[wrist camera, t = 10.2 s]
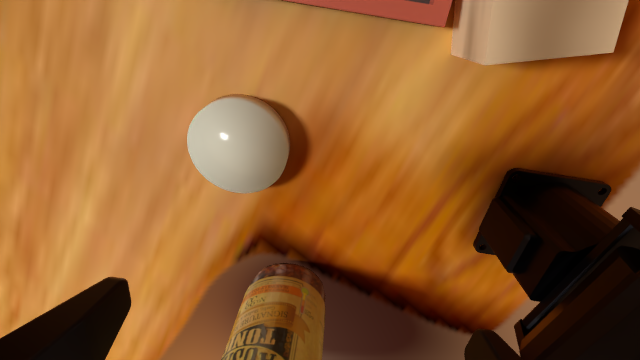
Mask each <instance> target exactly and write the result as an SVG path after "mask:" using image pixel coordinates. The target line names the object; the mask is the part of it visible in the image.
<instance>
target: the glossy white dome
mask: <svg viewBox="0 0 640 360" xmlns="http://www.w3.org/2000/svg"><path fill="white" fill-rule="evenodd" d="M187 145H188V151H189V154H190V157H191V159H192V161H193V163H194V165H195V167H196V168H197V169H198V171H199V172H200V173H201V174H202V175H203V176H204V177H205V178H206V179H207V180H208V181H210V182H211V183H213V184H214V185H216V186H218V187H220V188H222V189H225V190H227V191H231V192H236V193H253V192H258V191H261V190H263V189H266V188H268V187H269V186H271V185H272V184H273V183H274V182H276V181H277V180H278V178H279V177H280V176H281V174H282V173H283V171H284V168H285V166H286V163H287V160H288V156H289V152H290V138H289V133H288V130H287V127H286V125H285V123H284V121H283V120H282V118H281V117H280V115H279V114H278V113H277V112H276V111H275V110H274V109H273V108H272V107H271V106H269V105H268V104H267V103H265V102H263V101H262V100H260V99H257V98H255V97H252V96H248V95H243V94H232V95H226V96H222V97H220V98H217V99H216V100H214V101H212V102H211V103H210V104H208V105H207V106H206V107H204V108H203V109H202V110H201V111H199V112H198V114H197V115H196V116H195V117H194V119H193V120H192V122H191V124H190V126H189V130H188V135H187Z"/></svg>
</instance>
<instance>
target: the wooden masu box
mask: <svg viewBox="0 0 640 360" xmlns="http://www.w3.org/2000/svg"><path fill="white" fill-rule="evenodd" d="M628 1H629V0H455V8H454V21H453V34H452V47H451V55H454V56H457V57H460V58H463V59H467V60H470V61H473V62H476V63H479V64H482V65H493V64H503V63H513V62H523V61H533V60H543V59H553V58H563V57H573V56H583V55H593V54H603V53H613V52H614V49H615V45H616V42H617V38H618V35H619V31H620V28H621V25H622V21H623V18H624V14H625V11H626V8H627V4H628Z"/></svg>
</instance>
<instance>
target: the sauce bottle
mask: <svg viewBox="0 0 640 360" xmlns="http://www.w3.org/2000/svg"><path fill="white" fill-rule="evenodd" d="M324 302H325V294H324V288H323V284H322V282H321V281H320V279H319V277H318V276H317V275H315V274H314V273H313V272H312V271H311V270H310V269H308V268H305V267H304V266H299V265H296V264H288V263H280V264H273V265H270V266H267V267H266V268H264V269H263V270H261V271H260V272H259V273H258V274H257V275H256V276H255V278H254V279H253V281H252V282H251V284H250V286H249V288H248V289H247V291H246V293H245V296H244V299H243V301H242V304H241V307H240V310H239V312H238V315H237V318H236V321H235V323H234V327H233V329H232V332H231V335H230V338H229V341H228V343H227V346H226V349H225V352H224V354H223V357H222V360H322V350H323V334H324V323H325V303H324Z"/></svg>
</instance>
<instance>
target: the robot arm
mask: <svg viewBox="0 0 640 360" xmlns="http://www.w3.org/2000/svg"><path fill="white" fill-rule="evenodd" d="M515 175H518V176H517V177H516V178H515V179H513V177H514V176H515ZM600 189H601V190H600ZM599 190H600V191H599ZM610 192H611V187H610V186H609V185H608V184H606V183H604V182H601V181H595V180H589V179H582V178H576V177H569V176H563V175H557V174H550V173H544V172H538V171H531V170H525V169H518V168H513V169H511V170H509V171H508V172H507V173H506V175H505V177H504V179H503V181H502V183H501V186H500V188H499V190H498V192H497V194H496V196H495V198H494V199H493V200H492V202H491V204H490V206H489V208H488V210H487V213H486V215H485V217H484V219H483V221H482V223H481V225H480V227H479V232H478V234H477V236H476V239H475V241H474V243H473V246H474V248H475V250H476V251H477V252H479V253H485V254H492V255H496V256H497V257H498V259H499V260H500V262H501V263H502V265H503V266H504V268H505V269H506V271H507V272H508V273H513V275H514V276H515V278H516V279H517V281H518V282H519V284H520V285H521V287H522V288H523V289H524V291H525V292H526V294H527V295H528V297H529V298H530V300H533V301H539V302H540V303H539V304H538V305H537V306H536V307H535V308H534V309H533V310H532V311H531V312H530V313H529V314H528V315H527V316H526V317H525V318H524V319H523V320H522V319H520V320H519V321H518V322H517V323H516V324H515V325H514V328H515V333H516V337H517V342H518V346H519V350H520V356H521V357H520V356H519V355H518V354H517V353H516V352H515V351H514V350H513V349H512V348H511V347H510V346H508V344H507V343H506V342H505V341H504V340H503V339H502V338H501V337H500V336H499V335H498V334H496V333H495V332H494V331H491V330H485V329H477V330H475V332H474V333H473V335H472V337H471V339H470V340H469V342H468V344H467V346H466V348H465V353H464V355H465V360H640V210H638V209H635V208H632V207H630V208H629V209H628V210H627V211H626V212H625V213H624V214H623V215H622V217H623V219H622V220H621V221H619V220H618V219H616V218H615V217H613V216H612V215H611V214H609V213H608V212H607V211H605V210H604V209H602V208H601V206H602V204H603V203H604V201H605V200H606V198H607V197H608V195H609V194H610ZM482 244H484V245H483V246H480V245H482ZM130 307H131V297H130V292H129V286H128V282H127V280H126V279H124V278H117V277H108V278H105V279H103V280H102V281H100V282H98V283H96V284H95V285H93V286H91V287H89V288H88V289H86V290H84V291H82V292H81V293H79V294H77V295H75V296H74V297H72V298H70V299H68V300H67V301H65V302H63V303H61V304H60V305H58V306H56V307H54V308H53V309H51V310H49V311H47V312H46V313H44V314H42V315H40V316H39V317H37V318H35V319H33V320H32V321H30V322H28V323H26V324H25V325H23V326H21V327H19V328H18V329H16V330H14V331H12V332H11V333H9V334H7V335H5V336H4V337H2V338H0V360H105V359H106V357H107V355H108V353H109V351H110V349H111V346H112V344H113V342H114V340H115V338H116V336H117V334H118V332H119V330H120V328H121V326H122V324H123V322H124V320H125V318H126V316H127V314H128V312H129V310H130Z"/></svg>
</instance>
